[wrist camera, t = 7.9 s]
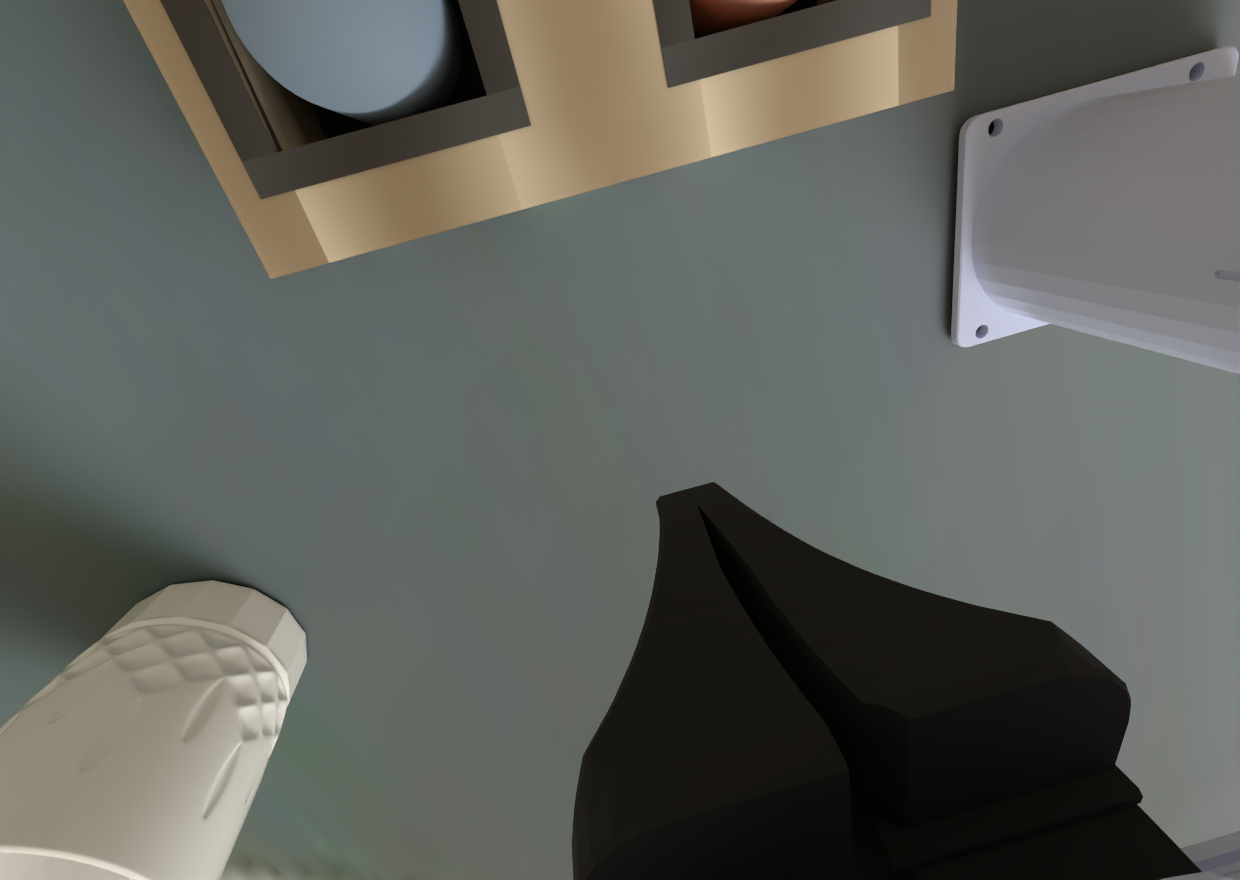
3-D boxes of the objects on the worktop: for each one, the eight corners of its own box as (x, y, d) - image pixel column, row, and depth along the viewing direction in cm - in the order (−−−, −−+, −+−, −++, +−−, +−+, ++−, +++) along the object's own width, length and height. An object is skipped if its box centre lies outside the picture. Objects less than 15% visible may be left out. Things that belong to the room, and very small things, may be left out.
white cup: (70, 647, 22) (-258, 971, 13) (189, 531, 20) (-86, 804, 11) (249, 730, 25) (88, 1036, 16) (363, 635, 23) (256, 912, 15)
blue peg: (424, -90, 14) (387, -181, 10) (484, 106, 16) (469, 84, 12) (256, -46, 14) (162, -124, 10) (338, 146, 16) (283, 135, 12)
